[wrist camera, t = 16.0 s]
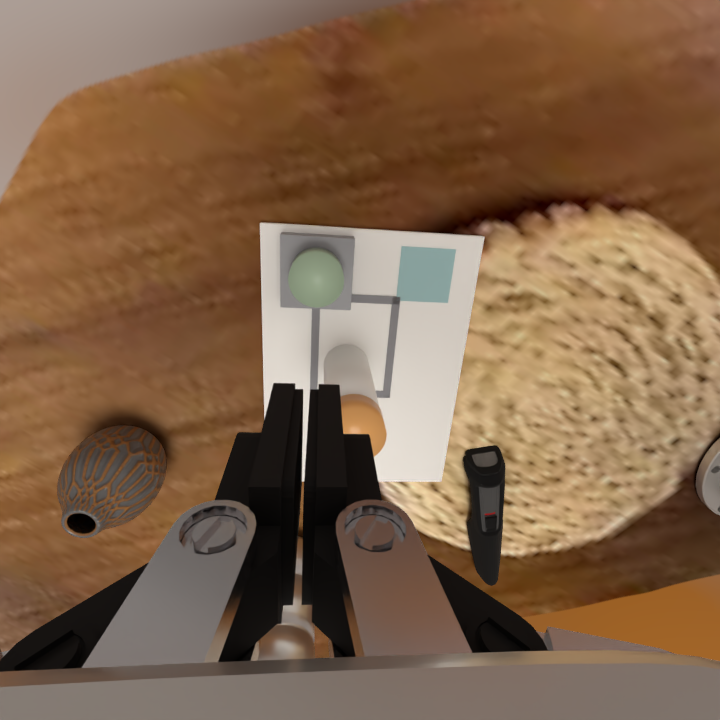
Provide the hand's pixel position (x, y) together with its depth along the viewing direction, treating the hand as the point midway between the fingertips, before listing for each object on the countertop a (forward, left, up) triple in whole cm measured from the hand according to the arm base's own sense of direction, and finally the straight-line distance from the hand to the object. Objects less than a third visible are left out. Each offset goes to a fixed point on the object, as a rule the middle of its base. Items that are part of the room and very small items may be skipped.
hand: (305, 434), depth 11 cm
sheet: (-4, +8, -22) cm, 24 cm away
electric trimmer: (-17, +23, -23) cm, 36 cm away
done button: (0, 0, -20) cm, 20 cm away
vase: (+15, +16, -22) cm, 31 cm away
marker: (-2, +8, -22) cm, 23 cm away
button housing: (0, 0, -22) cm, 22 cm away
